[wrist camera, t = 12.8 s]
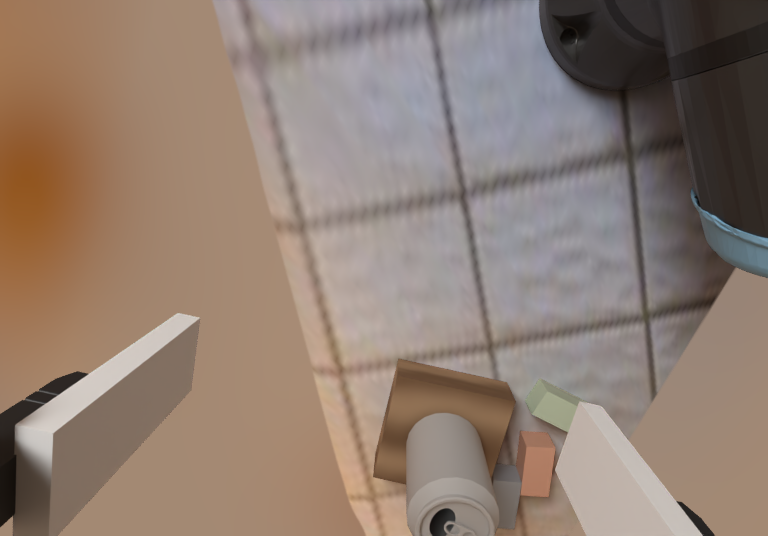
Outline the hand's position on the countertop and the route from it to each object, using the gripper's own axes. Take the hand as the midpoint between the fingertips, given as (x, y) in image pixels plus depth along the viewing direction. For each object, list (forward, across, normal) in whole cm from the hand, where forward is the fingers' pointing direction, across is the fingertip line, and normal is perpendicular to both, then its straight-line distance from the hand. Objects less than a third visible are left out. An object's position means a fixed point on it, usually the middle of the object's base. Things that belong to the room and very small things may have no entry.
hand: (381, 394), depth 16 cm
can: (+28, +9, -19) cm, 35 cm away
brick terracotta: (+32, +20, -21) cm, 43 cm away
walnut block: (+32, +9, -19) cm, 38 cm away
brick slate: (+32, +18, -26) cm, 45 cm away
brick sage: (+32, +21, -14) cm, 41 cm away
